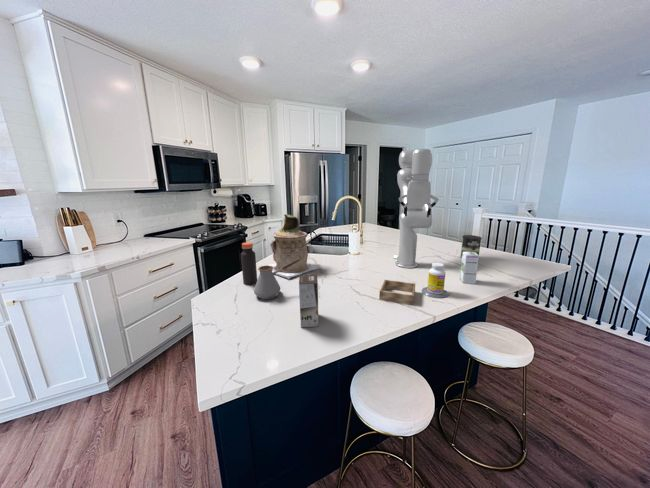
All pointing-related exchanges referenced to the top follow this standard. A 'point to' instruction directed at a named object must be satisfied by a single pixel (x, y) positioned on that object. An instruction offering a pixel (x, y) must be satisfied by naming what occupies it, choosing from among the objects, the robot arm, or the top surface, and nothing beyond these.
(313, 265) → the cookie jar
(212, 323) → the top surface
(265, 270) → the coffee pot
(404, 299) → the wooden box
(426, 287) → the trivet
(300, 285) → the coffee box
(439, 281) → the supplement bottle
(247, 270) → the vinegar
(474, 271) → the syrup box
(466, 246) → the coffee can
